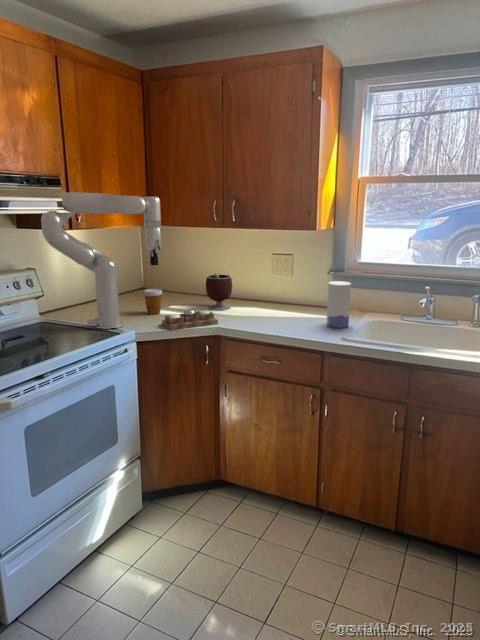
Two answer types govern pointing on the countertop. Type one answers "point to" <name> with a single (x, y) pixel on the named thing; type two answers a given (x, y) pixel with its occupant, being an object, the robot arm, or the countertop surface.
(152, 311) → the disposable coffee cup
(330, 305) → the container
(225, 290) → the mate gourd
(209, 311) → the sage button
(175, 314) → the cream button
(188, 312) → the grey button
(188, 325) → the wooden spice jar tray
